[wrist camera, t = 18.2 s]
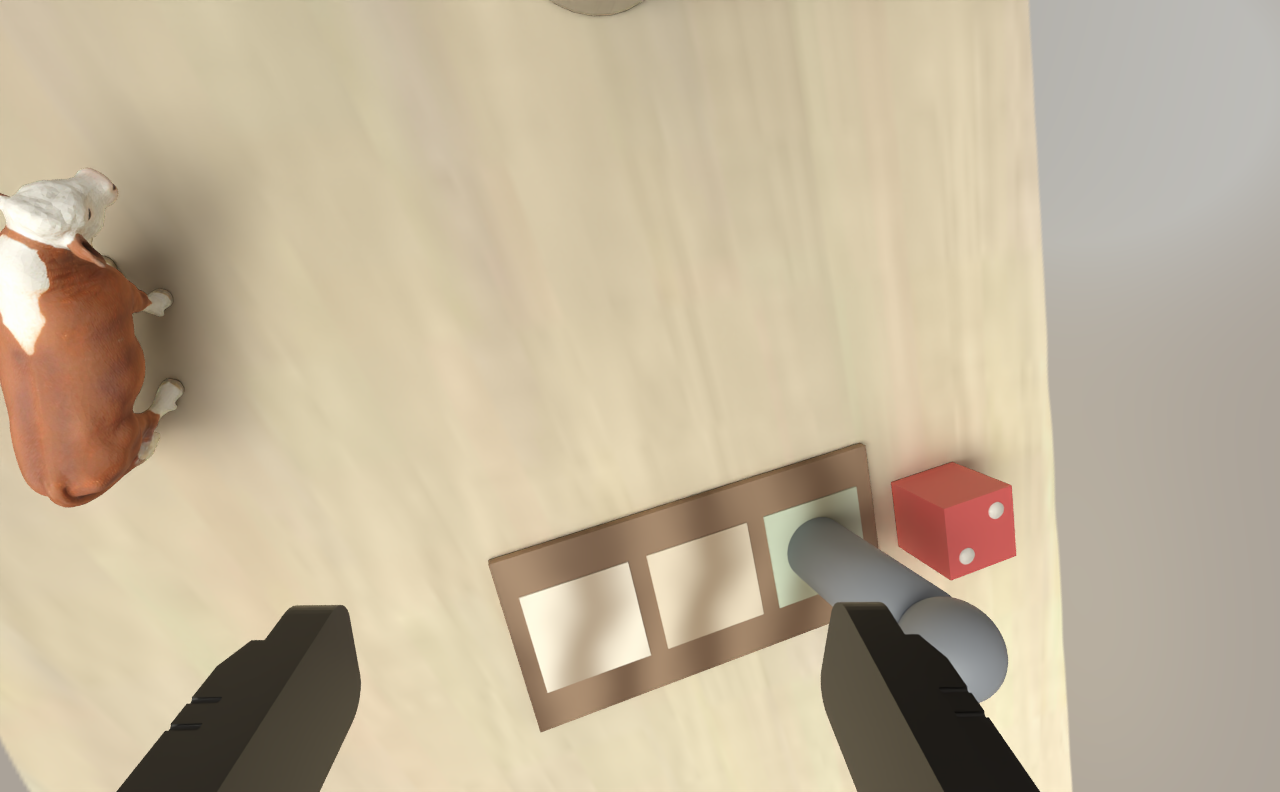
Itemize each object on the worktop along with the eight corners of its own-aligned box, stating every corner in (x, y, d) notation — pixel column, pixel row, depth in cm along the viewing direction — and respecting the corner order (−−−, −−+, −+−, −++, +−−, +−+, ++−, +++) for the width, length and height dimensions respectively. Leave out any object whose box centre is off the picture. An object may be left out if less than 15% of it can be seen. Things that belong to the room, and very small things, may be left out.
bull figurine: (199, 195, 28) (89, 163, 20) (188, 466, 30) (86, 531, 23) (87, 176, 27) (-73, 134, 19) (85, 459, 29) (-61, 525, 21)
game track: (539, 725, 38) (540, 733, 37) (488, 560, 35) (488, 565, 34) (880, 597, 43) (886, 603, 42) (859, 443, 40) (866, 445, 39)
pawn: (823, 499, 39) (1002, 608, 26) (861, 546, 41) (1050, 673, 27) (770, 550, 39) (924, 688, 25) (811, 596, 40) (978, 749, 27)
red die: (898, 546, 42) (951, 581, 38) (891, 482, 41) (944, 509, 36) (958, 525, 43) (1017, 556, 38) (952, 461, 42) (1012, 485, 37)
